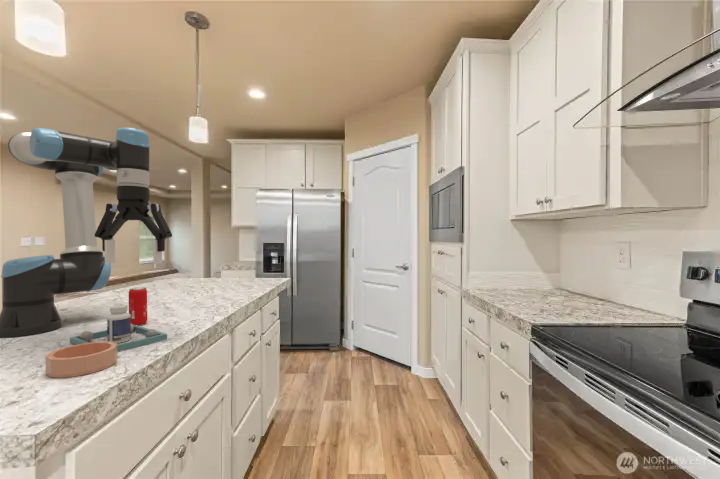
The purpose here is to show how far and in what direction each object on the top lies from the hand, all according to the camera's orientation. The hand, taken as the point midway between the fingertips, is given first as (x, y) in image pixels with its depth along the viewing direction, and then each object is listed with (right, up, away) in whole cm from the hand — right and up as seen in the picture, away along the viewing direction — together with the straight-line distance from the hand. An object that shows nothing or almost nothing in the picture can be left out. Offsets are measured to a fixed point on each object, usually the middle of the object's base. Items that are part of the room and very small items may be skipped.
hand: (133, 263), depth 93 cm
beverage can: (-12, -22, +20) cm, 32 cm away
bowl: (0, -22, -17) cm, 28 cm away
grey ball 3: (+4, -22, +2) cm, 22 cm away
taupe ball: (-14, -22, +1) cm, 26 cm away
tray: (-5, -22, +2) cm, 23 cm away
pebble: (-8, -22, +10) cm, 25 cm away
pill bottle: (-5, -22, +2) cm, 23 cm away
